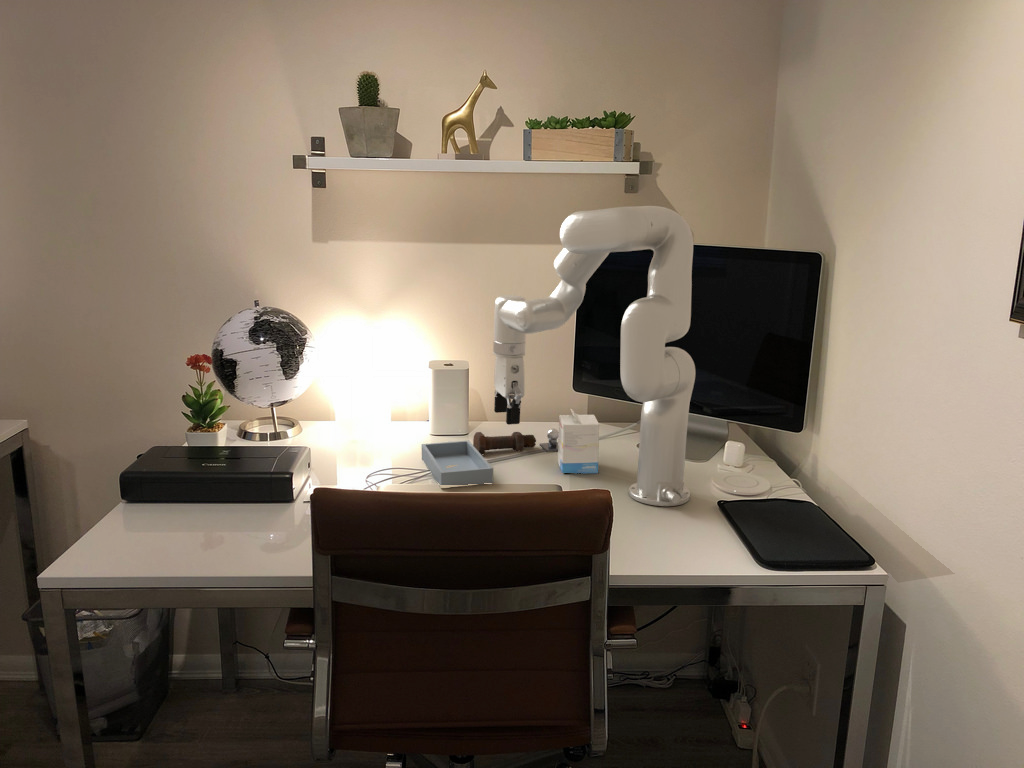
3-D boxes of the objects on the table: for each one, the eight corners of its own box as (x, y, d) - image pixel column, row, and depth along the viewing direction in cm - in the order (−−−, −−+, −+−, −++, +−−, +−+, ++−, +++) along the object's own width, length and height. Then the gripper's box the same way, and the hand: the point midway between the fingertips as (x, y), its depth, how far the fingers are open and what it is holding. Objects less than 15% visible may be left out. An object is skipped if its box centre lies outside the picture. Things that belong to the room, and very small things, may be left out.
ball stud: (565, 450, 203) (566, 430, 202) (546, 452, 201) (547, 432, 200) (558, 444, 207) (559, 425, 206) (539, 445, 206) (540, 426, 205)
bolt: (534, 456, 204) (476, 459, 199) (528, 441, 208) (471, 444, 202) (540, 440, 200) (481, 443, 195) (534, 425, 204) (475, 427, 199)
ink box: (598, 474, 187) (601, 416, 184) (561, 474, 186) (563, 417, 183) (592, 461, 195) (594, 406, 192) (557, 461, 194) (558, 406, 191)
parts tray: (492, 484, 179) (492, 468, 178) (441, 488, 176) (441, 472, 175) (468, 454, 198) (468, 440, 197) (421, 458, 195) (421, 444, 194)
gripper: (536, 355, 188) (533, 427, 192) (513, 340, 204) (510, 407, 208) (504, 356, 186) (502, 429, 190) (483, 341, 202) (481, 408, 206)
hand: (506, 417), depth 199 cm, fingers open, 9 cm apart
